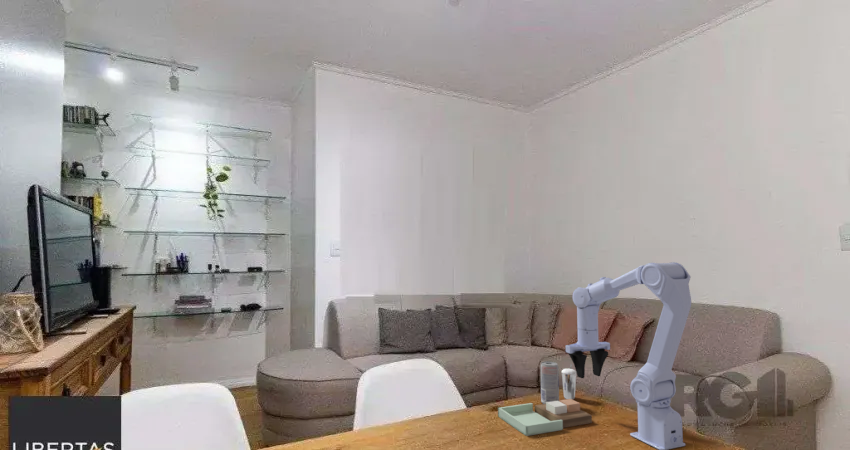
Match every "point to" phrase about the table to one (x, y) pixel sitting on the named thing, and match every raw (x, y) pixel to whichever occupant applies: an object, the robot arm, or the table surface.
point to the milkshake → (569, 382)
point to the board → (565, 416)
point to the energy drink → (549, 382)
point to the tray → (528, 420)
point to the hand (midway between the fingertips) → (588, 376)
